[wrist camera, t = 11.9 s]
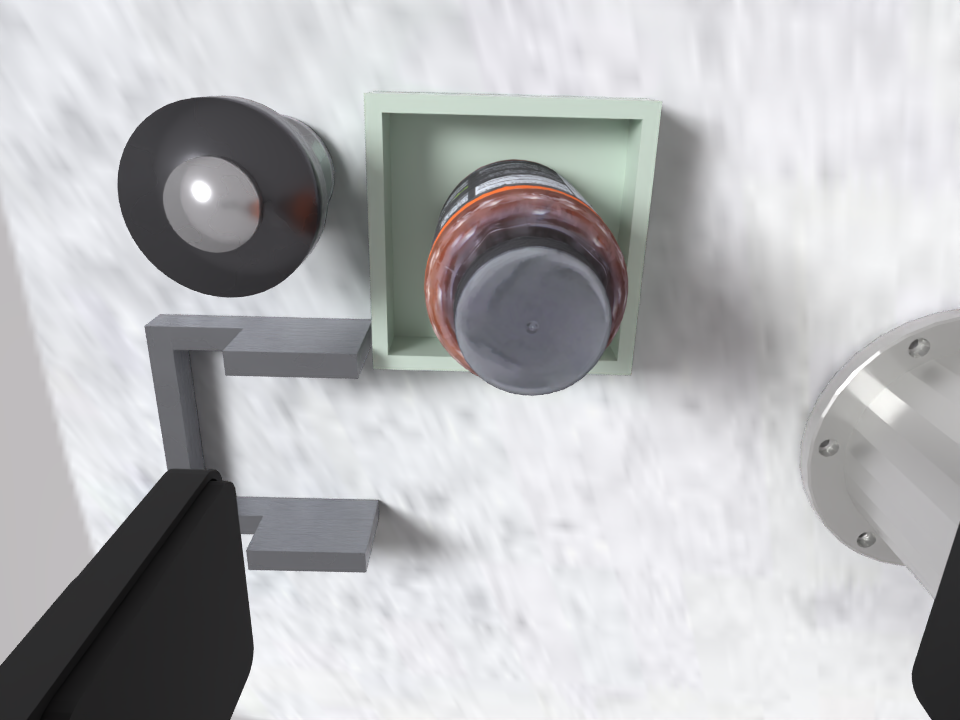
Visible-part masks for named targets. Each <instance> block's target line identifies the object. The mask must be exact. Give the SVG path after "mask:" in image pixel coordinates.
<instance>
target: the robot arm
mask: <svg viewBox="0 0 960 720" xmlns="http://www.w3.org/2000/svg"><path fill="white" fill-rule="evenodd" d="M800 471H801V477H802V483H803V488H804V491H805V493H806V495H807V497H808V500H809V502H810V504H811V507H812V508H813V510H814V511H815V512H816V514H817V515H818V516H819V518H820V519H821V521H822V522H823V524H824V525H825V526H826V527H827V528H828V529H829V530H830V531H831V533H832V534H833V535H834V536H835V537H836V538H837V539H838V540H839V541H840V542H842V543H843V544H845V545H846V546H848V547H849V548H850V549H852V550H853V551H855V552H857V553H859V554H861V555H864V556H867V557H869V558H872V559H874V560H877V561H879V562H884V563H889V564H895V565H900V566H906V567H907V568H908V569H909V571H910V572H911V573H912V574H913V575H914V576H915V578H916V579H917V580H918V581H919V582H920V583H921V585H922V586H923V587H924V588H925V589H926V590H927V592H928V593H929V594H930V595H931V596H932V597H933V599H934V603H933V606H932V610H931V613H930V616H929V619H928V622H927V625H926V628H925V631H924V635H923V638H922V641H921V644H920V647H919V650H918V653H917V656H916V659H915V663H914V666H913V670H912V683H913V688H914V691H915V694H916V696H917V698H918V700H919V702H920V703H921V705H922V706H923V708H924V709H925V711H926V712H927V714H928V715H929V717H930V718H931V720H960V309H956V310H950V311H943V312H937V313H934V314H931V315H928V316H925V317H922V318H919V319H916V320H913V321H910V322H907V323H905V324H903V325H901V326H899V327H897V328H896V329H894V330H892V331H890V332H888V333H886V334H884V335H882V336H880V337H879V338H877V339H876V340H875V341H873V342H872V343H870V344H869V345H868V346H866V347H865V348H863V349H862V350H861V351H859V352H858V353H856V354H855V355H854V356H853V357H852V358H851V359H850V360H849V361H848V362H847V363H846V364H845V365H844V366H843V367H842V368H841V369H840V370H839V371H838V372H837V373H836V374H835V375H834V377H833V378H832V380H831V381H830V382H829V384H828V385H827V386H826V388H825V389H824V390H823V392H822V393H821V395H820V396H819V398H818V400H817V402H816V404H815V406H814V408H813V410H812V412H811V414H810V416H809V418H808V420H807V424H806V427H805V431H804V435H803V438H802V442H801V453H800ZM253 650H254V646H253V635H252V627H251V618H250V610H249V601H248V593H247V584H246V575H245V567H244V558H243V550H242V541H241V532H240V524H239V515H238V507H237V498H236V491H235V487H234V485H233V483H232V482H228V481H222V478H221V476H220V473H219V472H218V471H216V470H206V469H177V468H174V469H169V470H168V471H167V472H166V473H165V474H164V475H163V476H162V477H161V479H160V480H159V481H158V482H157V483H156V484H155V486H154V487H153V488H152V489H151V490H150V492H149V493H148V494H147V495H146V496H145V497H144V499H143V500H142V501H141V502H140V503H139V505H138V506H137V507H136V508H135V509H134V510H133V512H132V513H131V514H130V515H129V516H128V518H127V519H126V520H125V521H124V522H123V523H122V525H121V526H120V527H119V528H118V529H117V531H116V532H115V533H114V534H113V535H112V536H111V538H110V539H109V540H108V541H107V542H106V543H105V545H104V546H103V547H102V548H101V549H100V551H99V552H98V553H97V554H96V555H95V556H94V558H93V559H92V560H91V561H90V562H89V564H88V565H87V566H86V567H85V568H84V570H83V571H82V572H81V573H80V574H79V576H77V578H75V579H74V580H73V581H72V582H71V583H70V584H69V585H68V587H67V588H66V589H65V590H64V591H63V593H62V594H61V595H60V596H59V597H58V599H57V600H56V601H55V602H54V603H53V605H51V607H50V608H49V609H48V610H47V611H46V613H45V614H44V615H43V616H42V617H41V619H40V620H39V621H38V622H37V623H36V624H35V626H34V627H33V628H32V629H31V630H30V631H29V633H28V634H27V635H26V636H25V637H24V638H23V640H22V641H21V642H20V643H19V644H18V645H17V647H16V648H15V649H14V650H13V651H12V653H11V654H10V655H9V656H8V657H7V658H6V660H5V661H4V662H3V663H2V664H1V665H0V720H230V719H231V717H232V714H233V712H234V709H235V707H236V705H237V702H238V700H239V697H240V695H241V693H242V690H243V688H244V685H245V683H246V681H247V678H248V676H249V673H250V670H251V666H252V660H253Z"/></svg>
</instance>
